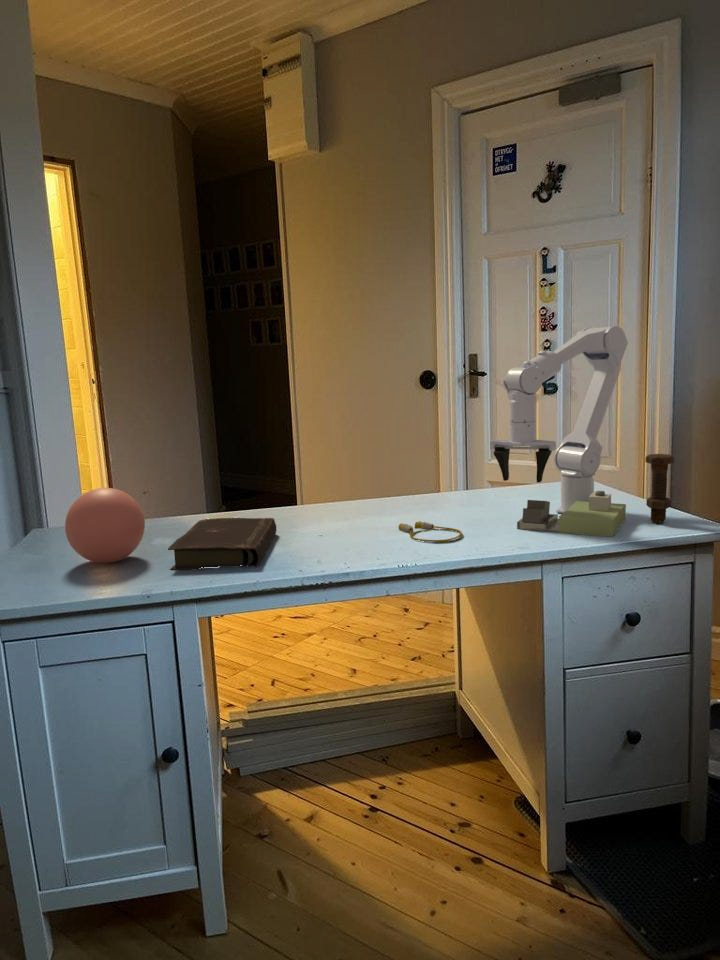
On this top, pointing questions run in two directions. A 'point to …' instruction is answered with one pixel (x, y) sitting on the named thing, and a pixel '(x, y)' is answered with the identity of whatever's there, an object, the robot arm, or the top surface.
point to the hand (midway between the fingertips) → (522, 480)
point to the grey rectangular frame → (541, 524)
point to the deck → (593, 516)
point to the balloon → (104, 525)
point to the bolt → (659, 486)
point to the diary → (223, 542)
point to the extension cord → (427, 526)
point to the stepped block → (536, 511)
